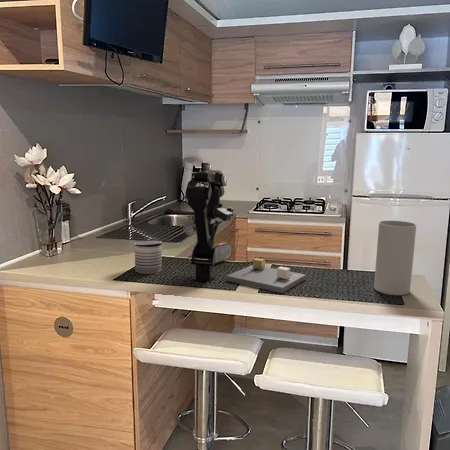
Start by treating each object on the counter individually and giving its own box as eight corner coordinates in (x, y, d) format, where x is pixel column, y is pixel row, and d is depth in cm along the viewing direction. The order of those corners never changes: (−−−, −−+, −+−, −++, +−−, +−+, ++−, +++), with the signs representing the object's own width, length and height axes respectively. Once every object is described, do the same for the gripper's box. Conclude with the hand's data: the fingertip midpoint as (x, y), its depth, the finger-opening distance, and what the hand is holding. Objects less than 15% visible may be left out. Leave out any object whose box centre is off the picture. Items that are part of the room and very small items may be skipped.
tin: (228, 257, 212) (228, 239, 211) (233, 259, 210) (234, 240, 209) (206, 264, 201) (206, 245, 199) (211, 265, 199) (212, 246, 197)
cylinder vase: (413, 297, 163) (419, 227, 158) (376, 294, 165) (381, 225, 160) (406, 286, 175) (412, 221, 170) (371, 284, 177) (376, 219, 172)
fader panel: (282, 293, 165) (282, 287, 164) (226, 280, 178) (226, 275, 177) (305, 279, 181) (305, 274, 181) (252, 269, 194) (253, 264, 194)
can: (134, 274, 184) (134, 245, 182) (133, 266, 195) (133, 238, 193) (163, 273, 187) (163, 244, 184) (161, 265, 197) (160, 238, 195)
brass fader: (261, 269, 185) (261, 260, 185) (252, 267, 188) (252, 259, 187) (264, 267, 188) (265, 259, 187) (256, 266, 190) (256, 257, 189)
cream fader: (286, 279, 173) (286, 270, 173) (276, 277, 175) (277, 268, 175) (289, 277, 176) (290, 268, 175) (280, 275, 178) (280, 266, 177)
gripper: (215, 205, 176) (215, 245, 179) (241, 200, 192) (240, 237, 194) (192, 202, 182) (192, 241, 185) (219, 198, 198) (219, 234, 201)
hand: (212, 238), depth 191 cm, fingers closed
